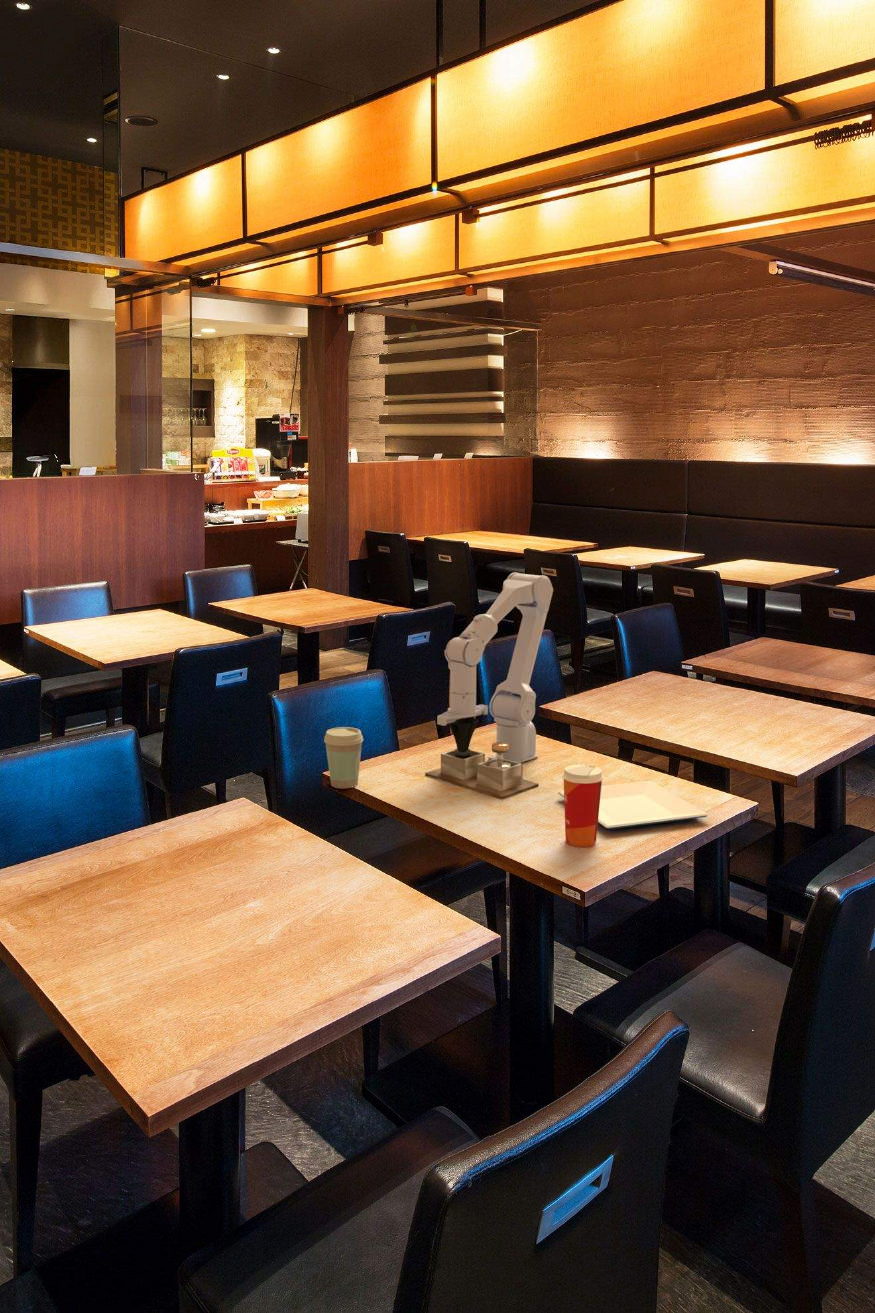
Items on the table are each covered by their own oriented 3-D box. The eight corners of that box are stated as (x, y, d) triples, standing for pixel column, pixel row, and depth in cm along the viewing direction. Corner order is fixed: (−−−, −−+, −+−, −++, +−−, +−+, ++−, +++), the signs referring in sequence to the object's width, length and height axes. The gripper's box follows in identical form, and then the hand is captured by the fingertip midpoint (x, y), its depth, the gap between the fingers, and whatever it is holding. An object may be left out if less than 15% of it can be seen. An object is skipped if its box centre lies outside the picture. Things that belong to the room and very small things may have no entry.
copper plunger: (498, 762, 224) (499, 740, 223) (515, 767, 220) (515, 744, 219) (484, 767, 220) (484, 744, 219) (501, 772, 217) (501, 748, 216)
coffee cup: (362, 791, 218) (361, 737, 215) (322, 790, 218) (321, 736, 216) (365, 778, 226) (364, 726, 224) (327, 778, 226) (326, 726, 224)
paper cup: (574, 831, 195) (576, 761, 192) (609, 840, 190) (611, 769, 187) (551, 843, 189) (553, 770, 186) (587, 853, 184) (589, 779, 181)
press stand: (461, 763, 237) (461, 743, 236) (538, 785, 221) (538, 763, 220) (425, 775, 229) (425, 753, 228) (502, 799, 213) (502, 776, 212)
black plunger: (462, 767, 232) (462, 745, 231) (477, 772, 229) (477, 750, 228) (447, 772, 228) (447, 750, 227) (463, 777, 225) (463, 754, 224)
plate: (606, 837, 192) (606, 826, 192) (556, 799, 213) (556, 790, 213) (708, 824, 199) (709, 813, 199) (650, 788, 220) (651, 779, 220)
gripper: (471, 683, 233) (471, 740, 235) (427, 693, 222) (427, 753, 225) (495, 688, 228) (494, 746, 231) (450, 699, 218) (450, 760, 220)
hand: (462, 750), depth 227 cm, fingers closed, pressing on black plunger
